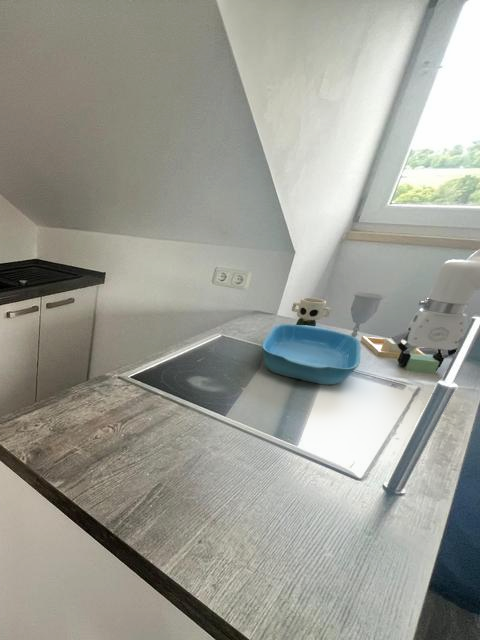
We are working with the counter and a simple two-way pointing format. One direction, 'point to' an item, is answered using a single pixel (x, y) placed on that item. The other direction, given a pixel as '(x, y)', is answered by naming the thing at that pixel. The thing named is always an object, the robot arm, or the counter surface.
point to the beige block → (393, 346)
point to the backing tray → (376, 346)
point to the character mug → (310, 311)
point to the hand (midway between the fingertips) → (417, 366)
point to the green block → (422, 363)
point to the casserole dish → (311, 353)
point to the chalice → (364, 308)
